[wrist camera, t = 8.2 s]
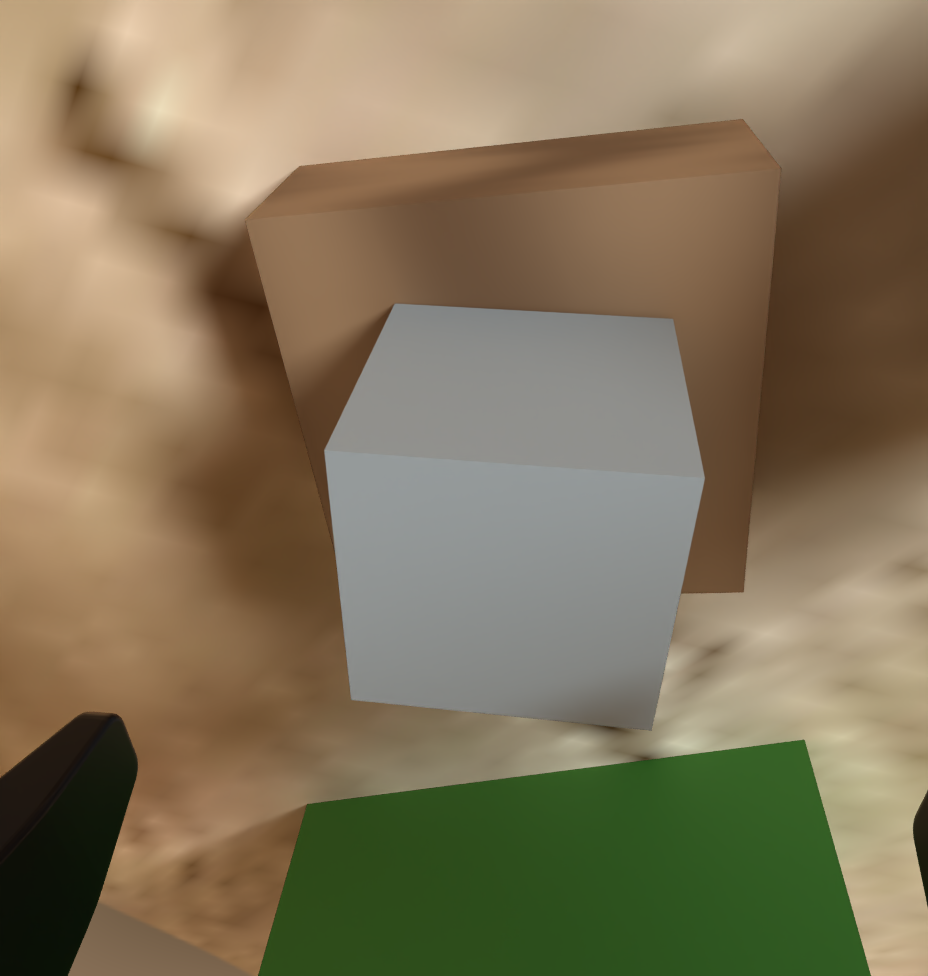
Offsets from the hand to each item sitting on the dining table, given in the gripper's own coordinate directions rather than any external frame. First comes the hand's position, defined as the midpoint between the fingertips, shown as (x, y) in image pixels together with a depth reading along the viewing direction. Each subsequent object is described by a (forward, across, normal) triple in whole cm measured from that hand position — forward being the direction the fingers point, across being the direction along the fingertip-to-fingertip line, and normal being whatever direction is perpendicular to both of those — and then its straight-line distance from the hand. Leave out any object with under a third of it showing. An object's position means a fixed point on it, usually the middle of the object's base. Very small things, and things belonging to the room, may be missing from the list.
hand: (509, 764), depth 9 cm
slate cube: (+8, 0, +1) cm, 8 cm away
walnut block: (+12, 0, +1) cm, 12 cm away
